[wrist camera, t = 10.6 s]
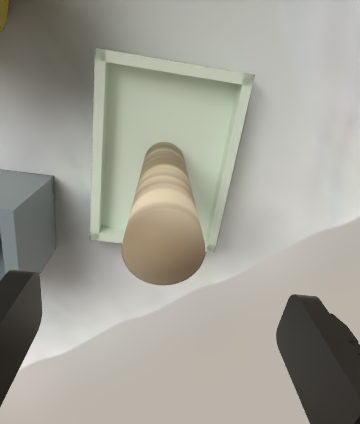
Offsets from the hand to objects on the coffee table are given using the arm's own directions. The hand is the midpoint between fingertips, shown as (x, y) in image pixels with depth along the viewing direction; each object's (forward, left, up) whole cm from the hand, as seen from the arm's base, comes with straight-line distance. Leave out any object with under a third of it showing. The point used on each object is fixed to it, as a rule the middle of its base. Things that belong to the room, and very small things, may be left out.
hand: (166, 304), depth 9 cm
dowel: (0, 0, -18) cm, 18 cm away
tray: (0, 0, -19) cm, 19 cm away
